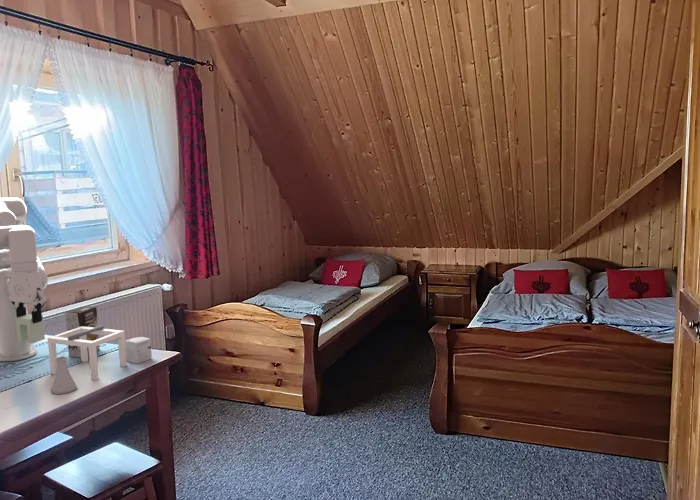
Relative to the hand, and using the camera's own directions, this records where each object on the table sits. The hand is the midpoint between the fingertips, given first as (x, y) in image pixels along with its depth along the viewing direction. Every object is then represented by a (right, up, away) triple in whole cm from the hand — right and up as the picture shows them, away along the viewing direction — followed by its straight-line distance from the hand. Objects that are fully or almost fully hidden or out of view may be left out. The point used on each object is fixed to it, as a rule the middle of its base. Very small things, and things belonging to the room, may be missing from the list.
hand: (29, 320), depth 182 cm
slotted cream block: (0, -7, +1) cm, 7 cm away
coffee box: (+9, -14, +19) cm, 25 cm away
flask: (+19, -19, -15) cm, 31 cm away
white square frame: (+19, -16, +2) cm, 25 cm away
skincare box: (+32, -15, +11) cm, 37 cm away
